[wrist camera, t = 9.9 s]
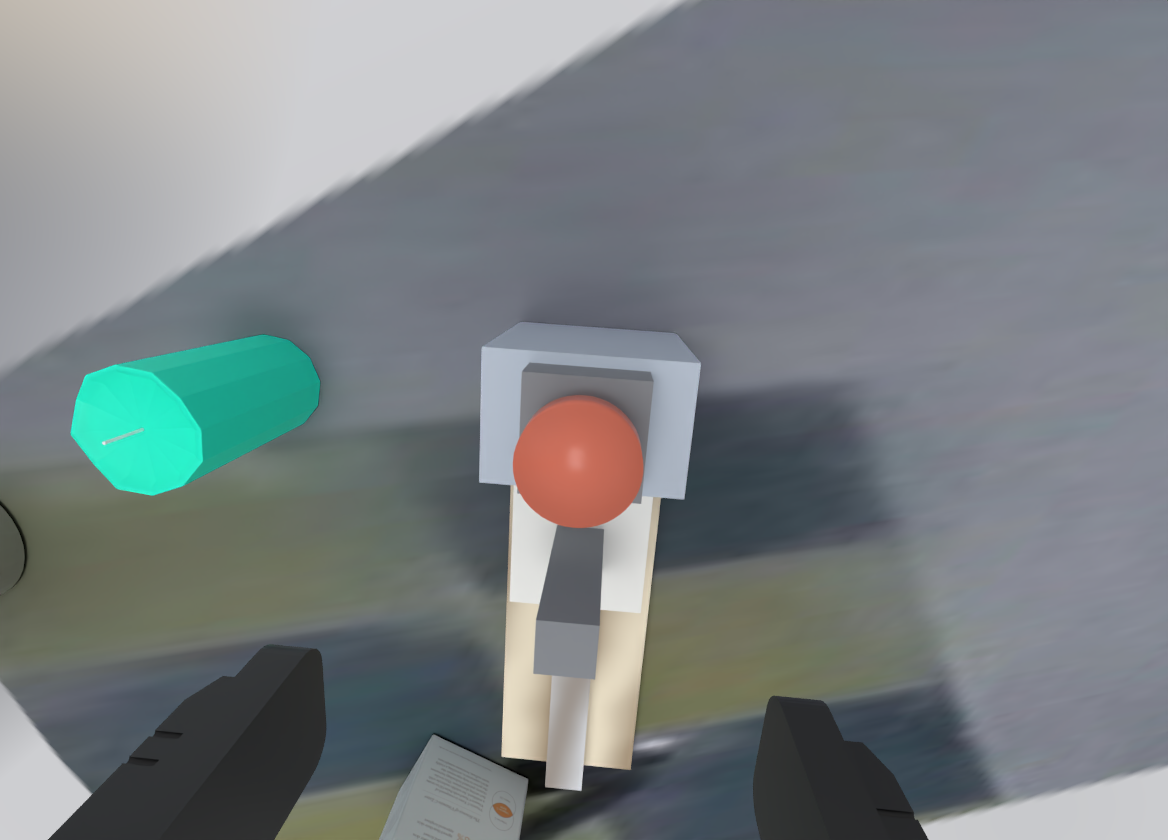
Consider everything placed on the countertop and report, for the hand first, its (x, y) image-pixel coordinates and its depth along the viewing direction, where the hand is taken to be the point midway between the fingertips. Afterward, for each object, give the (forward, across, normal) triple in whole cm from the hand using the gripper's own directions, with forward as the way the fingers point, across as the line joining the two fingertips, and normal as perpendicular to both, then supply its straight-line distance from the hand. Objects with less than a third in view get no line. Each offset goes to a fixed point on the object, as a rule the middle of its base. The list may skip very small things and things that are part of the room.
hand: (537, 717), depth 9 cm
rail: (+26, 0, +15) cm, 30 cm away
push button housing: (+26, 0, 0) cm, 26 cm away
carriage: (+24, 0, +7) cm, 25 cm away
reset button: (+14, 0, 0) cm, 14 cm away
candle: (+26, +20, +2) cm, 33 cm away
